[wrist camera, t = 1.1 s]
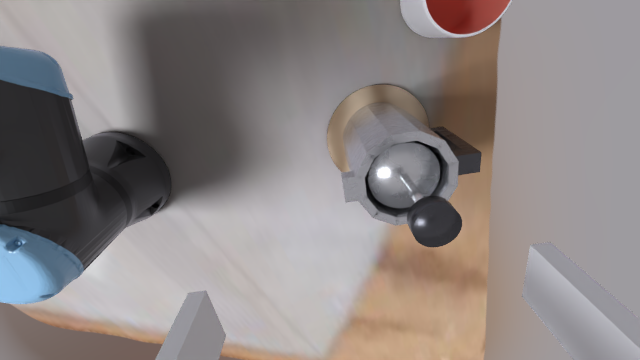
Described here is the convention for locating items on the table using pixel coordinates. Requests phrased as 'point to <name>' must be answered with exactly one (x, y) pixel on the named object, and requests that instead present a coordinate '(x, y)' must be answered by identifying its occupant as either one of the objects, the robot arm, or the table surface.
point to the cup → (452, 16)
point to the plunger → (414, 192)
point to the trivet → (360, 100)
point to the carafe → (392, 128)
